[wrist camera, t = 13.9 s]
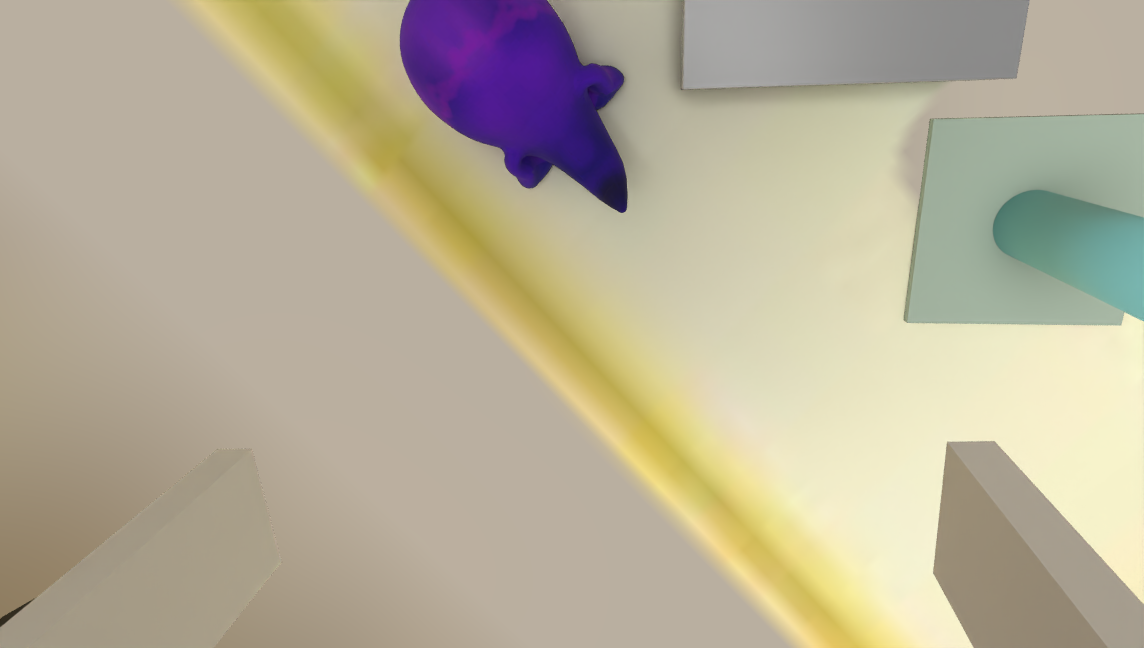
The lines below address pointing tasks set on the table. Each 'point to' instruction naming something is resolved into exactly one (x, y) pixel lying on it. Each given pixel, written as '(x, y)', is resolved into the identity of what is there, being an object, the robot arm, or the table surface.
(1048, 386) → the table surface
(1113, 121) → the mat
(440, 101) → the toy
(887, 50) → the socket
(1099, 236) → the plug
